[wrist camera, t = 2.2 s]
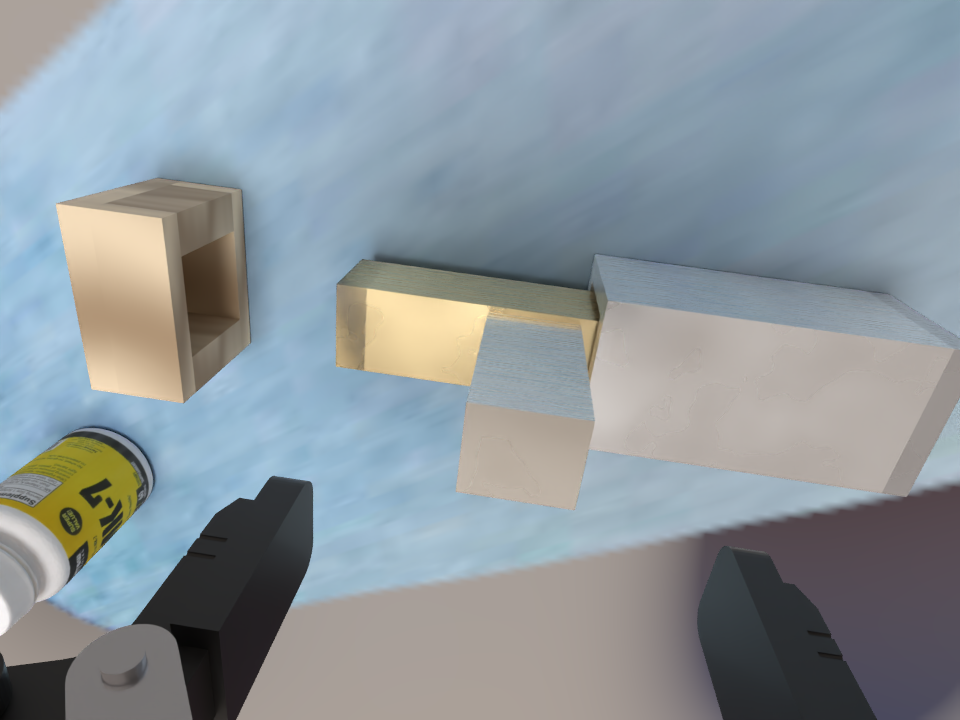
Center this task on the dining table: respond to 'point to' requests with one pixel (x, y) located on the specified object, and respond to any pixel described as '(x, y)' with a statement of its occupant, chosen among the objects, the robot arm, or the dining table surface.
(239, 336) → the socket
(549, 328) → the tan piece
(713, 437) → the white plaster block
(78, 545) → the supplement bottle
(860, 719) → the robot arm
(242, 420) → the dining table surface
